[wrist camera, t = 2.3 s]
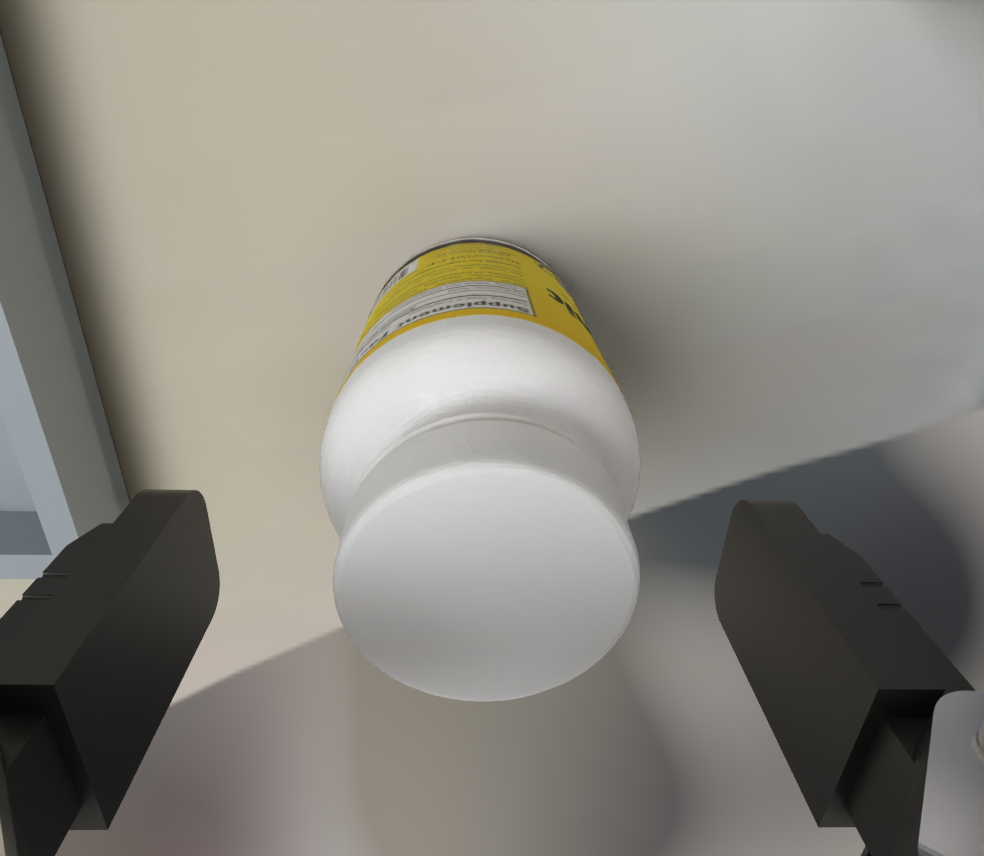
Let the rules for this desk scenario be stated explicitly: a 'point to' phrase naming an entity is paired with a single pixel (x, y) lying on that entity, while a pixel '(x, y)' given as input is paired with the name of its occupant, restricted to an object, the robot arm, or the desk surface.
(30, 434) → the tray
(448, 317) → the supplement bottle
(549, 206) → the desk surface
